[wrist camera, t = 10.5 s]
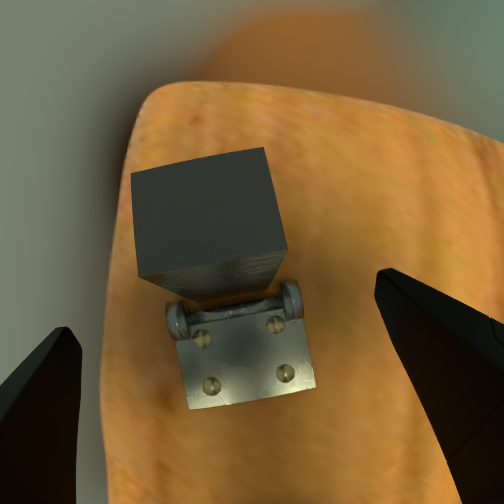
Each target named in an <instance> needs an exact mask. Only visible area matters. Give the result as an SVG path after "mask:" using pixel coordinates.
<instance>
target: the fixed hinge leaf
mask: <svg viewBox="0 0 504 504" xmlns="http://www.w3.org/2000/svg"><path fill="white" fill-rule="evenodd" d="M278 292H279V296H276V297H271V298H266V299H260V300H255V301H250V302H245V303H239V304H234V305H229V306H223V307H218V308H212V309H206V310H200V311H195V312H189V308H188V305H187V303H186V301H185V300H179V301H173V302H168V303H167V304H166V321H167V326H168V330H169V333H170V336H171V338H172V340H173V341H174V342H175V344H176V349H177V354H178V359H179V364H180V369H181V374H182V379H183V383H184V388H185V393H186V397H187V401H188V406H189V410H191V409H199V408H207V407H214V406H222V405H228V404H235V403H241V402H247V401H252V400H258V399H263V398H268V397H273V396H278V395H283V394H288V393H292V392H297V391H301V390H305V389H309V388H314V387H316V384H315V379H314V373H313V368H312V363H311V357H310V352H309V347H308V342H307V337H306V332H305V327H304V322H303V318H304V306H303V300H302V295H301V291H300V287H299V285H298V282H297V280H296V279H292V280H287V281H282V282H278Z"/></svg>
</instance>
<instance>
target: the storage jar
mask: <svg viewBox="0 0 504 504" xmlns="http://www.w3.org/2000/svg"><path fill="white" fill-rule="evenodd" d="M494 504H504V499H502V500H500V501H498V502H496V503H494Z"/></svg>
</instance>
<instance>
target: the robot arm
mask: <svg viewBox="0 0 504 504" xmlns="http://www.w3.org/2000/svg"><path fill="white" fill-rule="evenodd" d="M374 296H375V301H376V303H377V306H378V308H379V311H380V313H381V316H382V318H383V321H384V323H385V326H386V329H387V331H388V334H389V337H390V339H391V341H392V344H393V346H394V348H395V350H396V352H397V354H398V356H399V358H400V360H401V362H402V364H403V366H404V368H405V370H406V372H407V374H408V376H409V378H410V380H411V382H412V384H413V387H414V389H415V391H416V393H417V395H418V397H419V399H420V401H421V404H422V406H423V408H424V410H425V412H426V415H427V417H428V419H429V421H430V424H431V426H432V428H433V430H434V433H435V435H436V437H437V440H438V442H439V444H440V447H441V449H442V452H443V454H444V457H445V459H446V460H447V464H448V467H449V470H450V472H451V475H452V477H453V480H454V482H455V485H456V488H457V491H458V493H459V496H460V499H461V502H462V504H494V503H496V502H498V501H500V500H502V499H504V324H502V323H500V322H498V321H496V320H495V319H493V318H489V316H487V315H485V314H483V313H481V312H479V311H477V310H476V309H474V308H472V307H470V306H468V305H466V304H464V303H462V302H460V301H458V300H456V299H454V298H452V297H450V296H448V295H446V294H444V293H442V292H440V291H438V290H436V289H434V288H432V287H430V286H428V285H426V284H424V283H422V282H420V281H418V280H416V279H414V278H412V277H410V276H408V275H406V274H404V273H401V272H399V271H397V270H395V269H393V268H387V269H382V270H379V271H378V273H377V277H376V285H375V292H374ZM81 371H82V348H81V345H80V343H79V342H78V340H77V339H76V337H75V336H74V334H73V333H72V331H71V330H70V328H68V327H58V328H55V329H54V330H53V331H52V332H51V333H50V334H49V335H48V336H47V337H46V338H45V339H44V340H43V341H42V342H41V343H40V344H39V345H38V346H37V347H36V348H35V349H34V350H33V351H32V352H31V353H30V354H29V355H28V357H27V358H26V359H25V360H24V361H23V362H22V363H21V364H20V365H19V366H18V367H17V368H16V369H15V370H14V371H13V372H12V373H11V374H10V376H9V377H8V378H7V379H6V380H5V381H4V382H3V383H2V384H1V385H0V504H76V457H77V455H76V454H77V436H78V422H79V411H80V400H81Z"/></svg>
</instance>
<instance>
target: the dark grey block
mask: <svg viewBox="0 0 504 504" xmlns="http://www.w3.org/2000/svg"><path fill="white" fill-rule="evenodd" d="M131 194H132V211H133V224H134V237H135V247H136V257H137V266H138V275H139V277H140V278H142V279H144V280H146V281H149V282H151V283H153V284H156V285H158V286H160V287H162V288H165V289H167V290H169V291H172V292H174V293H176V294H179V295H181V296H183V297H186V298H188V299H191V300H193V301H195V302H203V301H208V300H214V299H220V298H225V297H230V296H236V295H241V294H247V293H252V292H257V291H262V290H267V289H268V288H269V286H270V284H271V282H272V280H273V278H274V276H275V274H276V272H277V270H278V268H279V266H280V264H281V262H282V260H283V258H284V256H285V254H286V252H287V250H288V248H287V244H286V239H285V235H284V230H283V226H282V221H281V217H280V213H279V209H278V204H277V200H276V196H275V192H274V187H273V183H272V179H271V175H270V171H269V167H268V163H267V159H266V155H265V151H264V147H260V148H254V149H248V150H242V151H236V152H230V153H224V154H219V155H213V156H208V157H203V158H198V159H193V160H188V161H183V162H178V163H174V164H169V165H165V166H160V167H156V168H152V169H148V170H143V171H139V172H135V173H131Z"/></svg>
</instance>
